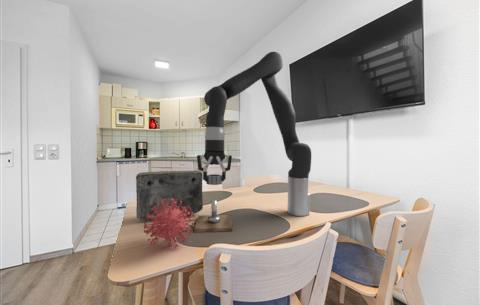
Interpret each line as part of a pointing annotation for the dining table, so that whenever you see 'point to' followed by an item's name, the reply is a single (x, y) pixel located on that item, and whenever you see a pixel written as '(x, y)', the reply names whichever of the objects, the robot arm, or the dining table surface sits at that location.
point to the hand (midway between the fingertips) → (214, 181)
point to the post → (214, 213)
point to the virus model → (169, 223)
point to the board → (205, 226)
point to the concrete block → (168, 191)
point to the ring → (214, 179)
